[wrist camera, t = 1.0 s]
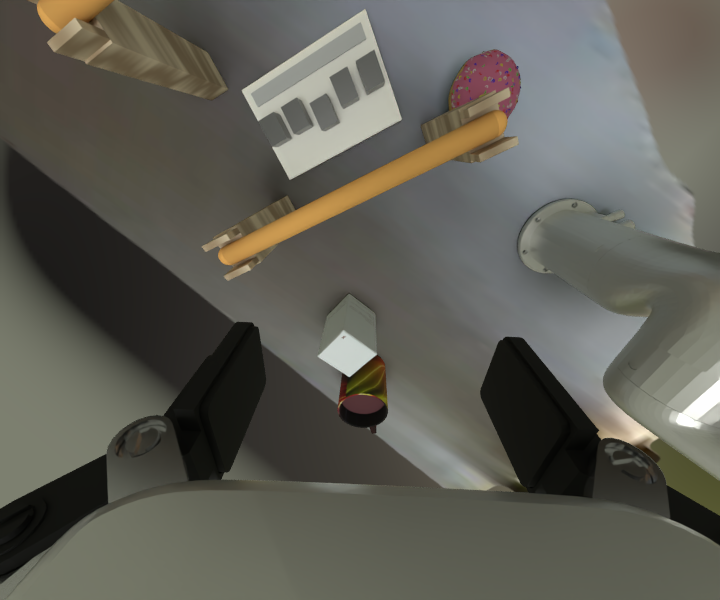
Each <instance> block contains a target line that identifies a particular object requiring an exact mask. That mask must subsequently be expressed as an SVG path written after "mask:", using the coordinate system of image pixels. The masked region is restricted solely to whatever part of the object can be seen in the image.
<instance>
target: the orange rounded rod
mask: <svg viewBox="0 0 720 600" xmlns="http://www.w3.org/2000/svg"><path fill="white" fill-rule="evenodd" d="M113 1H114V0H39V2H38V4H37V11H38V14H39V16H40V18H41V20H42V21H43V22H44V24H45V25H46V26H47V27H48V28H49V29H51V30H52V31H53V32H55V33H58V32H59V31H60V30H61V29H63V28H64V27H65V26H66V25H67V24H68V23H69V22H70V21H72V20H73V19H74V18H77V19H79V20H82V21H84V22H86V23H89V22H90V21H91V20H92V19H93V18H94V17H96V16H97V15H98V14H99V13H100V12H101V11H102V10H104V9H105V8H106V7H107V6H108V5H109V4H111V3H112V2H113Z"/></svg>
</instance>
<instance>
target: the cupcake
mask: <svg viewBox="0 0 720 600" xmlns="http://www.w3.org/2000/svg"><path fill="white" fill-rule="evenodd" d="M483 52H484V51H483ZM483 52H482V54H479V55H477V56H474V57H472V58H470V59H469V60H468V61H467V62H466V63H465V64H464V65H463V67H462V68H461V70H460V71H459V73H458V74H457V76H456V78H455V80H454V82H453V84H452V87H451V90H450V93H449V99H448V103H449V111H451V110H453V109H455V108H457V107H460V106H462V105H464V104H466V103H468V102H470V101H473V100H475V99H477V98H479V97H481V96H484V95H486V94H488V93H490V92H492V91H496V93H497V92H499V91H501V90H504V89H506V88H508V87H509V90H510V97H508V98H507V99H505V100H503V101H501V102H499V103H498V106H499V110H500V111H503V112H504V113H505V114H506V116H507V119H508V117H509V115H510V114H511V112H512V111H513V109H514V108H515V106H516V103H517V102H518V96H519V92H520V88H521V87H520V83H521V82H520V80H521V79H520V74H519V71H518V68H517V67H518V66H516V64H515V63H514V61H513V60H512V59H511V58H510V57H509V56H508V55H506V54H504V53H503V52H501V51H499V50H489V51H487V52H484V53H483Z"/></svg>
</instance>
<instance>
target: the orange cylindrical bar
mask: <svg viewBox="0 0 720 600" xmlns="http://www.w3.org/2000/svg"><path fill="white" fill-rule="evenodd" d="M506 126H507V116H506V114H505V113H504V112H503V111H500V110H493V111H491V112H489V113H487V114H485V115H483V116H481V117H479V118H477V119H475V120H473V121H471V122H469V123H467V124H465V125H463V126H461V127H459V128H457V129H455V130H453V131H451V132H449V133H447V134H445V135H443V136H441V137H439V138H437V139H435V140H433V141H431V142H429V143H427V144H425V145H424V146H422V147H420V148H418V149H416V150H414V151H412V152H410V153H408V154H406V155H404V156H402V157H400V158H398V159H396V160H394V161H392V162H390V163H388V164H386V165H384V166H382V167H380V168H378V169H376V170H374V171H372V172H370V173H368V174H366V175H364V176H362V177H360V178H358V179H356V180H354V181H352V182H350V183H348V184H346V185H345V186H343V187H341V188H339V189H337V190H335V191H333V192H331V193H329V194H327V195H325V196H323V197H321V198H319V199H317V200H315V201H313V202H311V203H309V204H307V205H305V206H303V207H301V208H299V209H297V210H295V211H293V212H291V213H289V214H287V215H285V216H283V217H281V218H279V219H277V220H275V221H273V222H271V223H269V224H267V225H265V226H264V227H262V228H260V229H258V230H256V231H254V232H252V233H250V234H248V235H246V236H244V237H242V238H240V239H238V240H236V241H234V242H232V243H230V244H228V245H226V246H224V247H222V248H221V249H220V251H219V253H218V256H219V259H220V261H221V262H222V263H224V264H226V265H233V264H236V263H238V262H240V261H242V260H244V259H246V258H248V257H250V256H252V255H254V254H256V253H259V252H261V251H263V250H265V249H267V248H269V247H271V246H273V245H275V244H277V243H279V242H281V241H283V240H285V239H288V238H290V237H292V236H294V235H296V234H298V233H300V232H302V231H304V230H306V229H308V228H310V227H312V226H315V225H317V224H319V223H321V222H323V221H325V220H327V219H329V218H331V217H333V216H335V215H337V214H339V213H341V212H344V211H346V210H348V209H350V208H352V207H354V206H356V205H358V204H360V203H362V202H364V201H366V200H368V199H371V198H373V197H375V196H377V195H379V194H381V193H383V192H385V191H387V190H389V189H391V188H393V187H395V186H398V185H400V184H402V183H404V182H406V181H408V180H410V179H412V178H414V177H416V176H418V175H420V174H422V173H424V172H427V171H429V170H431V169H433V168H435V167H437V166H439V165H441V164H443V163H445V162H447V161H449V160H451V159H454V158H456V157H458V156H460V155H462V154H464V153H466V152H468V151H470V150H472V149H474V148H476V147H478V146H480V145H483V144H485V143H487V142H489V141H491V140H493V139H495V138H497V137H499V136H500V135H501V134H502V133H503V132H504V131H505V129H506Z"/></svg>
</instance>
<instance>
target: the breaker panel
mask: <svg viewBox="0 0 720 600" xmlns="http://www.w3.org/2000/svg"><path fill="white" fill-rule="evenodd" d="M242 92H243V94H244V96H245V98H246V100H247V101H248V103H249V105H250V107H251V109H252V111H253V112H254V114H255V116H256V118H257V120H258V123H259V125H260V126H261V128H262V130H263V132H264V134H265V136H266V138H267V139H268V141H269V143H270V145H271V147H272V148H273V150H274V151H275V153H276V155H277V157H278V159H279V161H280V163H281V164H282V166H283V168H284V170H285V172H286V174H287V175H288V177H289V179H290V180H291V179H293V178H295V177H297V176H299V175H301V174H303V173H305V172H306V171H308V170H310V169H312V168H314V167H316V166H318V165H319V164H321V163H323V162H325V161H327V160H329V159H331V158H332V157H334V156H336V155H338V154H340V153H342V152H344V151H345V150H347V149H349V148H351V147H353V146H355V145H356V144H358V143H360V142H362V141H364V140H366V139H368V138H369V137H371V136H373V135H375V134H377V133H379V132H381V131H382V130H384V129H386V128H388V127H390V126H392V125H394V124H395V123H397V122H399V121H401V120H402V118H401V115H400V112H399V109H398V106H397V103H396V100H395V97H394V94H393V91H392V88H391V85H390V82H389V79H388V76H387V73H386V70H385V67H384V64H383V61H382V58H381V55H380V52H379V49H378V46H377V43H376V40H375V37H374V34H373V31H372V28H371V25H370V22H369V18H368V15H367V12H366V9H364V10H363V11H361V12H360V13H358V14H357V15H355V16H354V17H352V18H351V19H349V20H348V21H346V22H345V23H343V24H342V25H340V26H339V27H337V28H336V29H334V30H333V31H331V32H330V33H328V34H327V35H325V36H323V37H322V38H320V39H319V40H317V41H316V42H314V43H313V44H311V45H310V46H308V47H307V48H305V49H304V50H302V51H301V52H299V53H298V54H296V55H295V56H293V57H292V58H290V59H289V60H287V61H286V62H284V63H283V64H281V65H280V66H278V67H277V68H275V69H274V70H272V71H270V72H269V73H267V74H266V75H264V76H263V77H261V78H260V79H258V80H257V81H255V82H254V83H252V84H251V85H249V86H248V87H246V88H245V89H243V90H242Z"/></svg>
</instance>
